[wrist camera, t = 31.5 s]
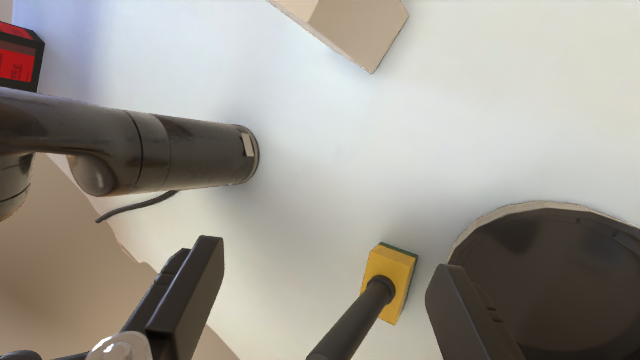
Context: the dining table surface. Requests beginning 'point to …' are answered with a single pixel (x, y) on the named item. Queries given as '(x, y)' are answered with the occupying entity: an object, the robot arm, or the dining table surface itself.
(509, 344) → the robot arm
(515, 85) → the dining table surface
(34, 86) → the cleaning product box
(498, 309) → the bowl
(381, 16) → the milk carton
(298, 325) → the dining table surface
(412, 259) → the sponge wand
